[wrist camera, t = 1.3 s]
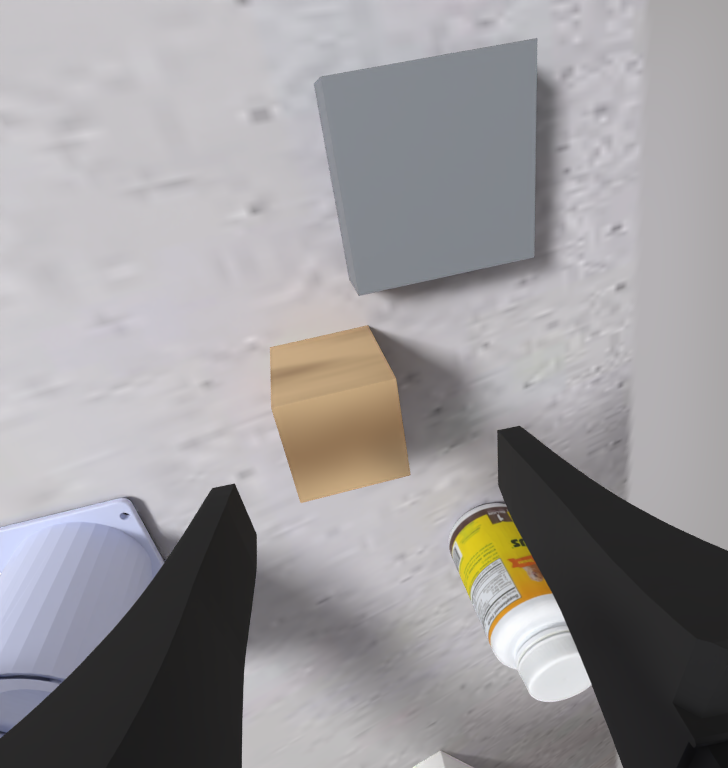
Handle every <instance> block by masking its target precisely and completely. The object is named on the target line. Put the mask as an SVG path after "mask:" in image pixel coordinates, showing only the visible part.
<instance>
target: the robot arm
mask: <svg viewBox="0 0 728 768" xmlns="http://www.w3.org/2000/svg"><path fill="white" fill-rule="evenodd" d="M497 433H498V485H499V488H500V491H501V493H502V496H503V498H504V501H505V504H506V506H507V509H508V511H509V513H510V516H511V518H512V520H513V522H514V524H515V526H516V528H517V530H518V531H519V533H520V535H521V537H522V539H523V541H524V543H525V544H526V546H527V548H528V550H529V552H530V554H531V555H532V557H533V559H534V561H535V563H536V564H537V566H538V568H539V570H540V572H541V574H542V575H543V577H544V579H545V581H546V583H547V585H548V586H549V588H550V590H551V592H552V594H553V596H554V598H555V600H556V602H557V604H558V606H559V608H560V610H561V613H562V615H563V617H564V620H565V622H566V624H567V627H568V629H569V631H570V634H571V636H572V638H573V641H574V643H575V645H576V648H577V650H578V653H579V655H580V657H581V660H582V662H583V665H584V667H585V670H586V672H587V674H588V677H589V679H590V682H591V684H592V687H593V689H594V692H595V694H596V697H597V700H598V702H599V705H600V707H601V710H602V712H603V715H604V718H605V720H606V723H607V725H608V728H609V730H610V733H611V736H612V738H613V741H614V744H615V747H616V749H617V752H618V755H619V757H620V760H621V763H622V765H623V768H728V551H727V550H724V549H722V548H720V547H717V546H715V545H713V544H710V543H708V542H706V541H703V540H701V539H699V538H697V537H695V536H693V535H690V534H688V533H686V532H684V531H682V530H680V529H678V528H675V527H673V526H671V525H669V524H667V523H665V522H663V521H661V520H659V519H657V518H656V517H654V516H652V515H650V514H648V513H646V512H645V511H643V510H641V509H639V508H637V507H635V506H634V505H632V504H630V503H628V502H627V501H625V500H623V499H621V498H620V497H618V496H616V495H615V494H613V493H612V492H610V491H609V490H607V489H605V488H604V487H602V486H601V485H599V484H598V483H596V482H595V481H593V480H592V479H590V478H589V477H587V476H586V475H585V474H583V473H582V472H580V471H579V470H578V469H576V468H575V467H573V466H572V465H570V464H569V463H568V462H566V461H565V460H564V459H562V458H561V457H560V456H558V455H557V454H556V453H554V452H553V451H552V450H550V449H549V448H548V447H546V446H545V445H544V444H543V443H541V442H540V441H539V440H537V439H536V438H535V437H534V436H532V435H531V434H530V433H529V432H527V431H526V430H525V429H523V428H522V427H520V426H517V427H512V428H507V429H502V430H497ZM123 513H128V514H129V515H125V514H123ZM256 565H257V534H256V532H255V530H254V527H253V525H252V523H251V520H250V518H249V516H248V513H247V511H246V509H245V506H244V504H243V502H242V499H241V497H240V495H239V492H238V490H237V488H236V485H235V484H230V485H225V486H221V487H216V488H212V490H211V491H210V493H209V494H208V496H207V497H206V499H205V500H204V502H203V504H202V505H201V507H200V509H199V510H198V512H197V513H196V515H195V517H194V518H193V520H192V521H191V523H190V525H189V526H188V528H187V529H186V531H185V533H184V534H183V536H182V537H181V539H180V540H179V542H178V543H177V545H176V546H175V548H174V549H173V551H172V553H171V554H170V556H169V557H168V558H167V560H166V561H165V562H164V561H163V559H162V557H161V555H160V553H159V551H158V550H157V548H156V546H155V544H154V542H153V540H152V539H151V537H150V535H149V533H148V531H147V529H146V528H145V526H144V524H143V522H142V520H141V518H140V517H139V515H138V513H137V511H136V509H135V507H134V506H133V504H132V502H131V501H130V500H128V499H125V498H118V499H114V500H110V501H106V502H102V503H98V504H94V505H90V506H86V507H82V508H78V509H73V510H69V511H65V512H61V513H57V514H53V515H49V516H45V517H41V518H37V519H33V520H29V521H24V522H20V523H16V524H12V525H8V526H4V527H0V573H1V574H0V768H242V712H243V684H244V666H245V655H246V647H247V640H248V632H249V625H250V617H251V610H252V602H253V594H254V586H255V578H256Z"/></svg>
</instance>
